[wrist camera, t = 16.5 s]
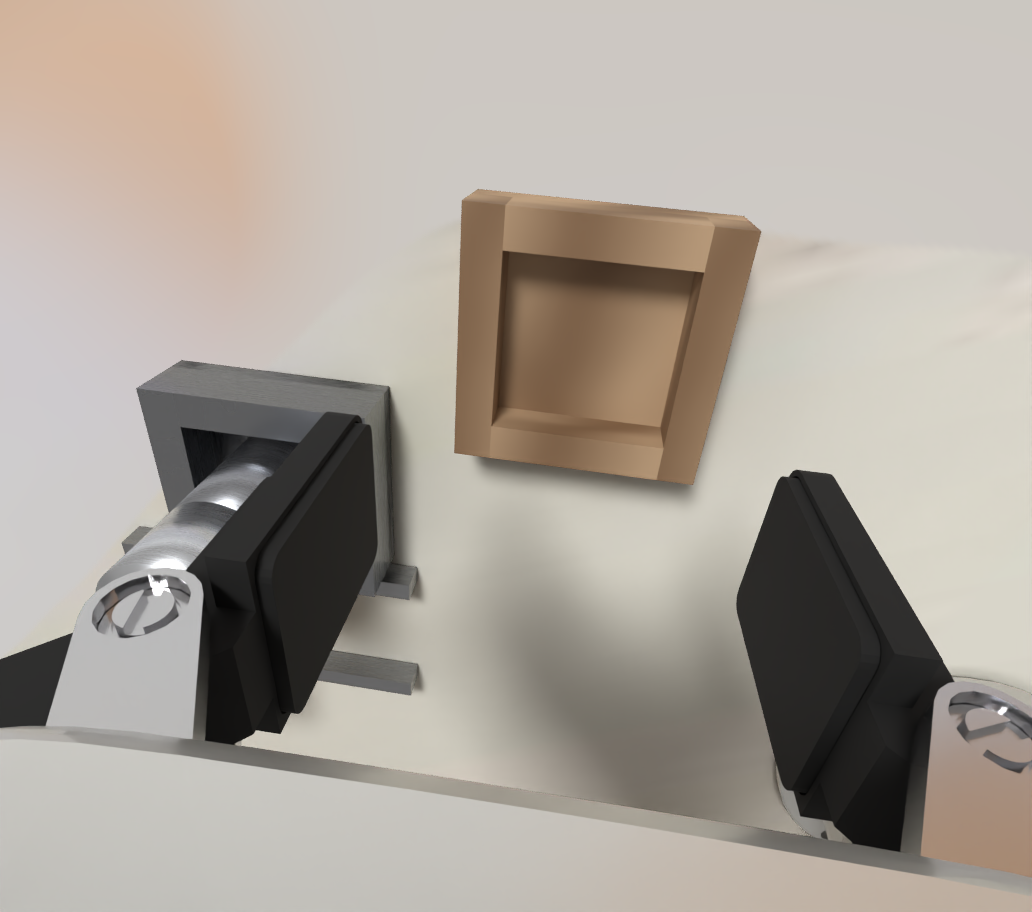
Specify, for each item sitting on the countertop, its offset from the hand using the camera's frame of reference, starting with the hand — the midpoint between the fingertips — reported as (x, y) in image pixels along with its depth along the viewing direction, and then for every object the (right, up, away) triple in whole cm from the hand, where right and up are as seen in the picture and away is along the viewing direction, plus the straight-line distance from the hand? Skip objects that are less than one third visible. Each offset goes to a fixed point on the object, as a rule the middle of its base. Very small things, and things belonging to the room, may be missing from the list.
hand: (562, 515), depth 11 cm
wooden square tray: (+2, +5, +10) cm, 11 cm away
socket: (-10, +1, +14) cm, 17 cm away
